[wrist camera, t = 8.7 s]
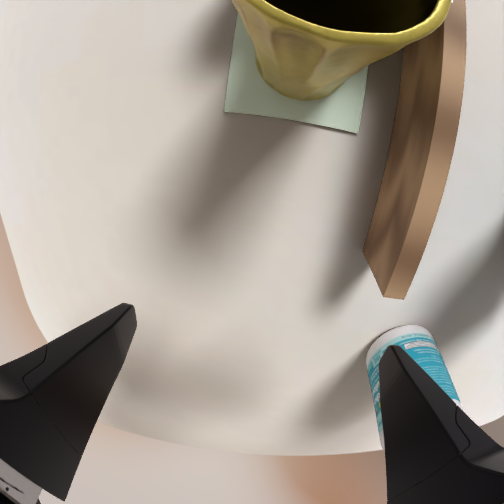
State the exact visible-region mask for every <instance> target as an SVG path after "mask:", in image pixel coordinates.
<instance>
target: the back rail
mask: <svg viewBox="0 0 504 504" xmlns="http://www.w3.org/2000/svg"><path fill="white" fill-rule="evenodd" d="M465 63H466V6H465V0H453V3H451V5H450V8H449V11H448V14H447V16H446V19H445V20H444V21H443V23H442V24H441V25H440V26H439V27H438V28H437V29H436V30H434V31H433V32H432V33H430V34H429V35H427V36H425V37H423V38H422V39H420V40H417V41H415V42H413V43H411V44H408V45H406V46H405V47H404V55H403V64H402V73H401V81H400V89H399V96H398V103H397V109H396V115H395V121H394V127H393V132H392V137H391V142H390V147H389V152H388V157H387V161H386V166H385V170H384V175H383V179H382V183H381V187H380V191H379V195H378V199H377V203H376V207H375V210H374V214H373V218H372V221H371V225H370V228H369V232H368V235H367V238H366V242H365V245H364V248H363V253H364V256H365V258H366V260H367V262H368V264H369V266H370V268H371V271H372V273H373V275H374V277H375V279H376V282H377V284H378V286H379V288H380V291H381V293H382V295H383V297H387V298H395V299H403V300H404V298H405V296H406V294H407V292H408V289H409V287H410V285H411V282H412V280H413V278H414V275H415V273H416V270H417V268H418V265H419V263H420V260H421V258H422V255H423V253H424V250H425V247H426V245H427V242H428V239H429V236H430V233H431V230H432V227H433V224H434V221H435V218H436V215H437V212H438V209H439V205H440V202H441V199H442V195H443V192H444V188H445V184H446V181H447V177H448V173H449V169H450V164H451V160H452V156H453V151H454V146H455V141H456V136H457V130H458V125H459V118H460V112H461V105H462V97H463V88H464V77H465Z"/></svg>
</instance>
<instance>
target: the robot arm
mask: <svg viewBox="0 0 504 504" xmlns="http://www.w3.org/2000/svg"><path fill="white" fill-rule="evenodd" d="M136 327H137V320H136V314H135V308H134V306H133V305H131V304H127V303H122V304H120V305H118V306H116V307H114V308H112V309H110V310H108V311H106V312H105V313H103V314H101V315H99V316H97V317H95V318H93V319H91V320H90V321H88V322H86V323H84V324H82V325H80V326H78V327H77V328H75V329H73V330H71V331H69V332H67V333H66V334H64V335H62V336H60V337H58V338H56V339H55V340H53V341H51V342H49V343H48V344H46V345H44V346H42V347H40V348H38V349H36V350H34V351H32V352H30V353H28V354H26V355H25V356H22V357H20V358H18V359H15V360H13V361H11V362H8V363H6V364H4V365H2V366H0V504H41V503H40V501H39V499H38V497H39V495H40V493H41V490H42V489H44V490H45V491H47V492H49V493H50V494H52V495H54V496H55V497H57V498H59V499H61V500H62V501H65V499H66V497H67V494H68V491H69V488H70V486H71V483H72V480H73V478H74V475H75V472H76V470H77V468H78V465H79V462H80V460H81V457H82V455H83V452H84V450H85V447H86V445H87V442H88V440H89V438H90V435H91V433H92V431H93V428H94V426H95V424H96V422H97V419H98V417H99V415H100V413H101V410H102V408H103V406H104V404H105V402H106V399H107V397H108V395H109V393H110V391H111V389H112V386H113V384H114V382H115V380H116V378H117V376H118V374H119V372H120V370H121V368H122V365H123V363H124V361H125V358H126V355H127V352H128V350H129V347H130V344H131V341H132V339H133V336H134V333H135V330H136ZM379 391H380V408H381V416H382V425H383V435H384V446H385V459H386V476H387V500H388V501H387V504H504V448H503V447H501V446H500V445H498V444H497V443H496V442H495V441H494V440H493V439H492V438H491V437H489V436H488V435H487V434H486V433H485V432H484V431H483V430H482V429H481V428H479V426H478V425H476V424H475V423H474V422H473V421H472V420H471V419H470V418H469V417H468V416H467V415H466V414H465V413H464V412H463V411H462V409H461V408H460V407H459V406H458V405H457V404H456V403H455V402H454V401H453V400H452V399H451V398H450V397H449V396H448V395H447V394H446V392H445V391H444V390H443V389H442V388H441V387H440V386H439V385H438V384H437V383H436V382H435V381H434V380H433V379H432V378H431V377H430V376H429V375H428V374H427V373H426V372H425V371H424V370H423V369H422V368H421V367H420V366H419V365H418V364H417V363H416V362H415V361H414V360H413V358H412V357H411V356H410V355H409V354H408V353H407V352H406V351H405V350H404V349H403V348H402V347H400V346H399V345H389V346H388V347H387V348H386V350H385V352H384V354H383V355H382V357H381V359H380V361H379ZM456 405H457V406H456Z"/></svg>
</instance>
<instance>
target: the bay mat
mask: <svg viewBox="0 0 504 504" xmlns="http://www.w3.org/2000/svg"><path fill="white" fill-rule="evenodd" d="M368 66H369V65H368ZM368 66H366V67H364V68H363V69H361V70H360V71H359V72H358V73H356V74H354V75H353V76H351V77H350V78H349V79H347V80H346V81H345V82H344V84H343V85H342V86H340V87H339V88H338V89H337V90H335V91H334V92H333V93H332V94H330V95H328V96H327V97H324V98H321V99H317V100H310V101H300V100H295V99H291V98H288V97H285V96H283V95H281V94H279V93H278V92H276V91H275V90H274V89H272V88H271V87H270V86H269V85H267V84H266V83H265V81H264V80H263V79H262V77H261V75H260V73H259V71H258V69H257V66H256V61H255V50H254V46H253V42H252V40H251V38H250V37H249V35H248V33H247V31H246V28H245V26H244V23H243V21H242V19H241V17H240V15H239V13H238V14H237V20H236V27H235V33H234V40H233V47H232V54H231V61H230V68H229V75H228V83H227V91H226V99H225V107H224V112H234V113H243V114H252V115H260V116H268V117H275V118H282V119H288V120H294V121H300V122H306V123H311V124H316V125H321V126H326V127H331V128H336V129H340V130H345V131H349V132H353V133H357V134H358V131H359V126H360V120H361V114H362V108H363V101H364V95H365V88H366V81H367V74H368Z"/></svg>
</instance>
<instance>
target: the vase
mask: <svg viewBox="0 0 504 504" xmlns="http://www.w3.org/2000/svg"><path fill="white" fill-rule="evenodd" d="M231 1H232V3H233V5H234V6H235V8H236V10H237V11H238V13H239V15H240V17H241V19H242V21H243V23H244V26H245V28H246V31H247V33H248V35H249V37H250V38H251V40H252V42H253V46H254V50H255V61H256V66H257V69H258V71H259V73H260V75H261V77H262V79H263V80H264V81H265V83H266V84H267V85H269V86H270V87H271V88H272V89H274V90H275V91H276V92H278V93H279V94H281V95H283V96H285V97H288V98H291V99H295V100H300V101H310V100H317V99H321V98H324V97H327V96H328V95H330V94H332V93H333V92H334V91H335V90H337V89H338V88H339V87H340V86H342V85H343V84H344V82H345V81H346V80H347V79H349V78H350V77H351V76H353V75H354V74H356V73H358V72H359V71H360V70H361V69H363V68H364V67H366V66H368V65H370V64H372V63H374V62H376V61H378V60H381V59H383V58H385V57H387V56H389V55H391V54H393V53H395V52H397V51H398V50H400V49H402V48H403V47H405V46H406V45H408V44H411V43H413V42H415V41H417V40H420V39H422V38H423V37H425V36H427V35H429V34H430V33H432V32H433V31H434V30H436V29H437V28H438V27H439V26H440V25H441V24H442V23H443V21H444V20H445V19H446V16H447V14H448V11H449V8H450V5H451V1H452V0H231Z"/></svg>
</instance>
